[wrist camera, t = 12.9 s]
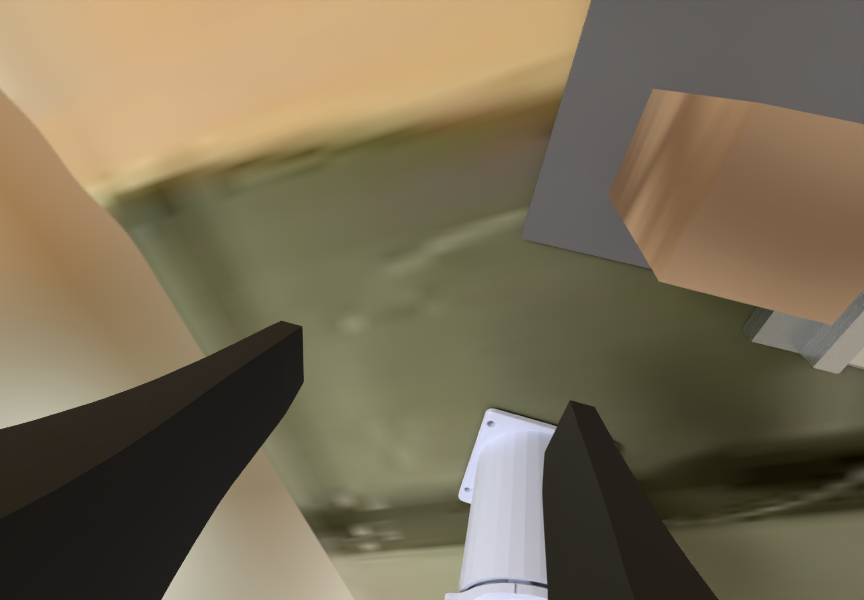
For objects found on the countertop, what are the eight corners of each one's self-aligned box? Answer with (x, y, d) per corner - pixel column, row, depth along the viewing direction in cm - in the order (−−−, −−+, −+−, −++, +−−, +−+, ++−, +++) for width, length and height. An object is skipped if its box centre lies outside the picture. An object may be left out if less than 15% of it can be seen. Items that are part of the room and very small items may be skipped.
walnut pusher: (706, 218, 16) (831, 325, 9) (607, 195, 16) (659, 281, 10) (767, 112, 14) (988, 150, 7) (652, 88, 14) (759, 102, 7)
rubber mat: (743, 287, 17) (747, 291, 17) (521, 235, 18) (520, 238, 18) (930, 11, 12) (941, 9, 12) (603, -39, 13) (604, -42, 13)
